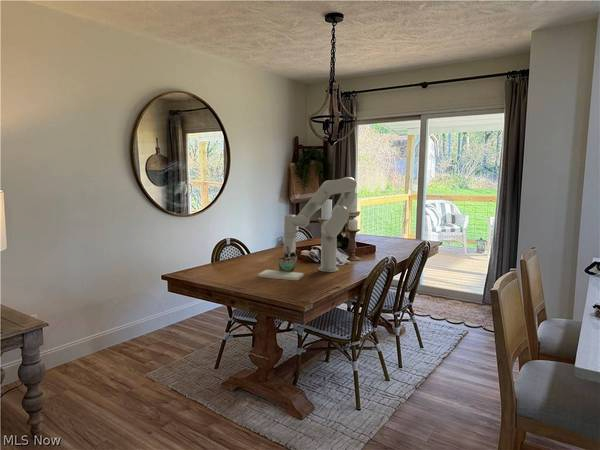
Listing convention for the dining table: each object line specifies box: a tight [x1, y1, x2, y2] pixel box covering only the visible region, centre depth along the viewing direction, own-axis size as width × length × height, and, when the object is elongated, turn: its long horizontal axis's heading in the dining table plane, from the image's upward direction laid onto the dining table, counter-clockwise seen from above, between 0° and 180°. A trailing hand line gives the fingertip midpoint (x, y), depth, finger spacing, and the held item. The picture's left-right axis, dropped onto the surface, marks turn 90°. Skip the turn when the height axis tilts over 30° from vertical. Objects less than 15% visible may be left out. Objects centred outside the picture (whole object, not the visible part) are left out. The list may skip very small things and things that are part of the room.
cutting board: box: [258, 269, 305, 281], centre depth 240 cm, size 12×24×2 cm, turn 71°
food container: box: [276, 254, 298, 272], centre depth 244 cm, size 12×6×10 cm
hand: (289, 261), depth 253 cm, fingers open, 9 cm apart
